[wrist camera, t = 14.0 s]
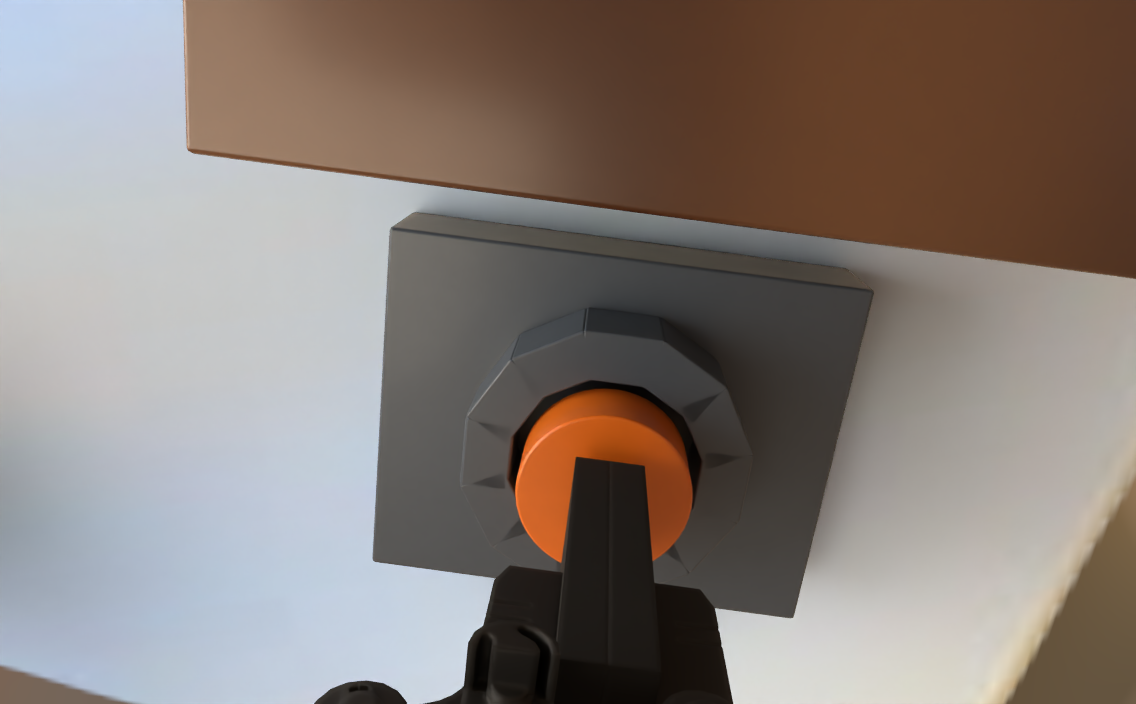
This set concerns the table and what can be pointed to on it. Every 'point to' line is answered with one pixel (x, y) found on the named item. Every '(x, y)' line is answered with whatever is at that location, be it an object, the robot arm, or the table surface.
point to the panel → (612, 361)
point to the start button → (606, 433)
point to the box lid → (707, 110)
